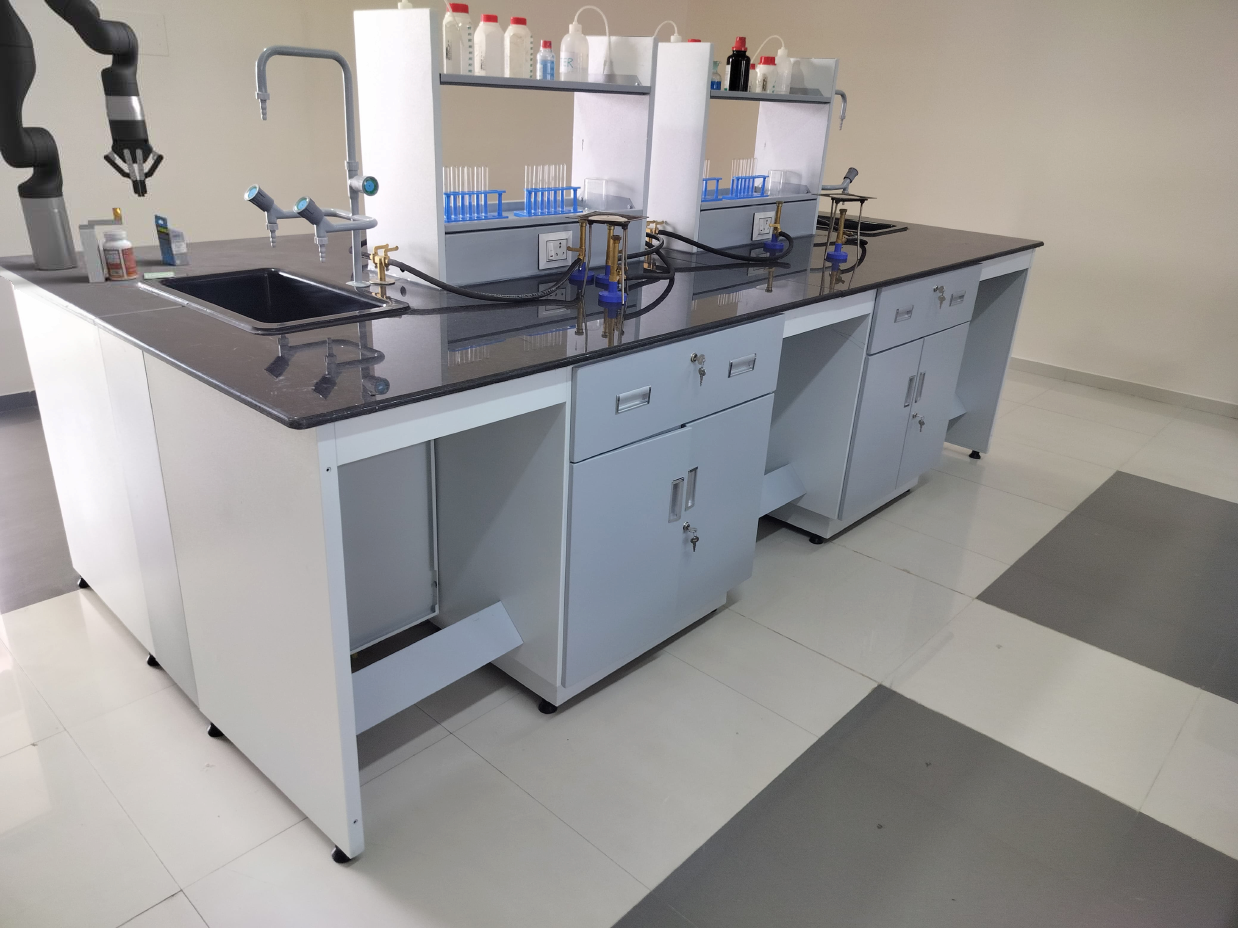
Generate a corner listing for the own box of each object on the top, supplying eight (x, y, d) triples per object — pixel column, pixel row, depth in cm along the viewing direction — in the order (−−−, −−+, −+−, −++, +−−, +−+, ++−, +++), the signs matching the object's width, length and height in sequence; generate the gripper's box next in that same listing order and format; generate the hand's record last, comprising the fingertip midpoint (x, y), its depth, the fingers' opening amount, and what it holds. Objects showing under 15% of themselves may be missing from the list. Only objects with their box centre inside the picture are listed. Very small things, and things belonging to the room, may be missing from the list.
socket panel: (91, 275, 210) (80, 222, 205) (105, 275, 212) (94, 221, 207) (89, 282, 203) (78, 227, 198) (105, 281, 204) (93, 226, 199)
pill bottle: (134, 275, 213) (126, 229, 208) (140, 279, 208) (132, 232, 204) (106, 277, 209) (97, 231, 205) (112, 282, 205) (102, 234, 200)
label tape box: (190, 264, 227) (182, 216, 222) (174, 266, 224) (165, 218, 219) (176, 260, 233) (168, 213, 228) (161, 261, 230) (152, 214, 225)
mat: (144, 275, 213) (144, 273, 213) (173, 273, 216) (173, 271, 216) (144, 280, 208) (144, 278, 208) (174, 278, 211) (174, 276, 210)
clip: (88, 225, 202) (85, 208, 200) (123, 224, 205) (120, 207, 203) (88, 226, 200) (85, 209, 199) (123, 225, 203) (119, 208, 202)
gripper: (158, 117, 203) (171, 194, 210) (93, 117, 197) (109, 196, 204) (159, 118, 197) (172, 197, 204) (92, 118, 191) (109, 199, 198)
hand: (141, 196), depth 204 cm, fingers closed
